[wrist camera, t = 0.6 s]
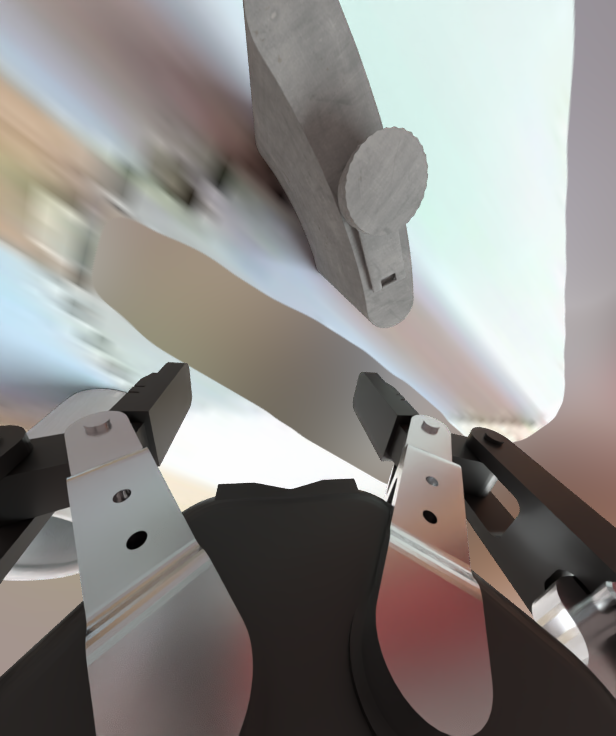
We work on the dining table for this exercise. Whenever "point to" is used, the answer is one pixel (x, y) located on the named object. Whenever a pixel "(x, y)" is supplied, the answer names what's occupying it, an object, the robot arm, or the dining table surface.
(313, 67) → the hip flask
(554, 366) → the dining table surface
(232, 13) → the dining table surface
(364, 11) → the dining table surface
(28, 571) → the utensil holder
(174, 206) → the dining table surface
